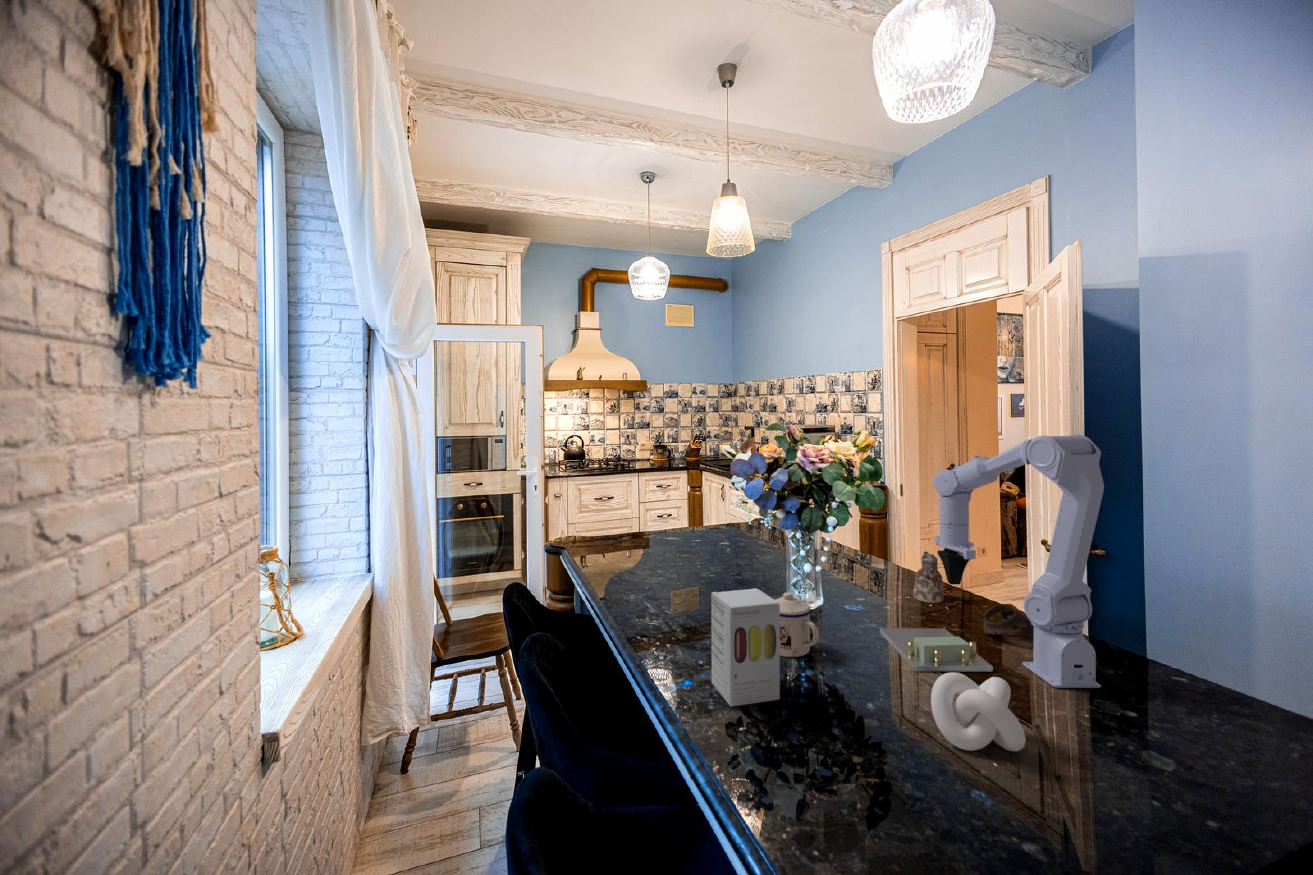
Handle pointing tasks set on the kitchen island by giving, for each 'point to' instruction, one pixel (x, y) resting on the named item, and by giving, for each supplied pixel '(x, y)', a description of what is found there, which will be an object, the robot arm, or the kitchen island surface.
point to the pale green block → (940, 647)
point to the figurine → (929, 581)
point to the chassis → (906, 647)
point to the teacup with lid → (795, 627)
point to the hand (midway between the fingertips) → (953, 583)
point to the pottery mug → (1007, 621)
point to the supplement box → (746, 646)
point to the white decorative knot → (975, 713)
